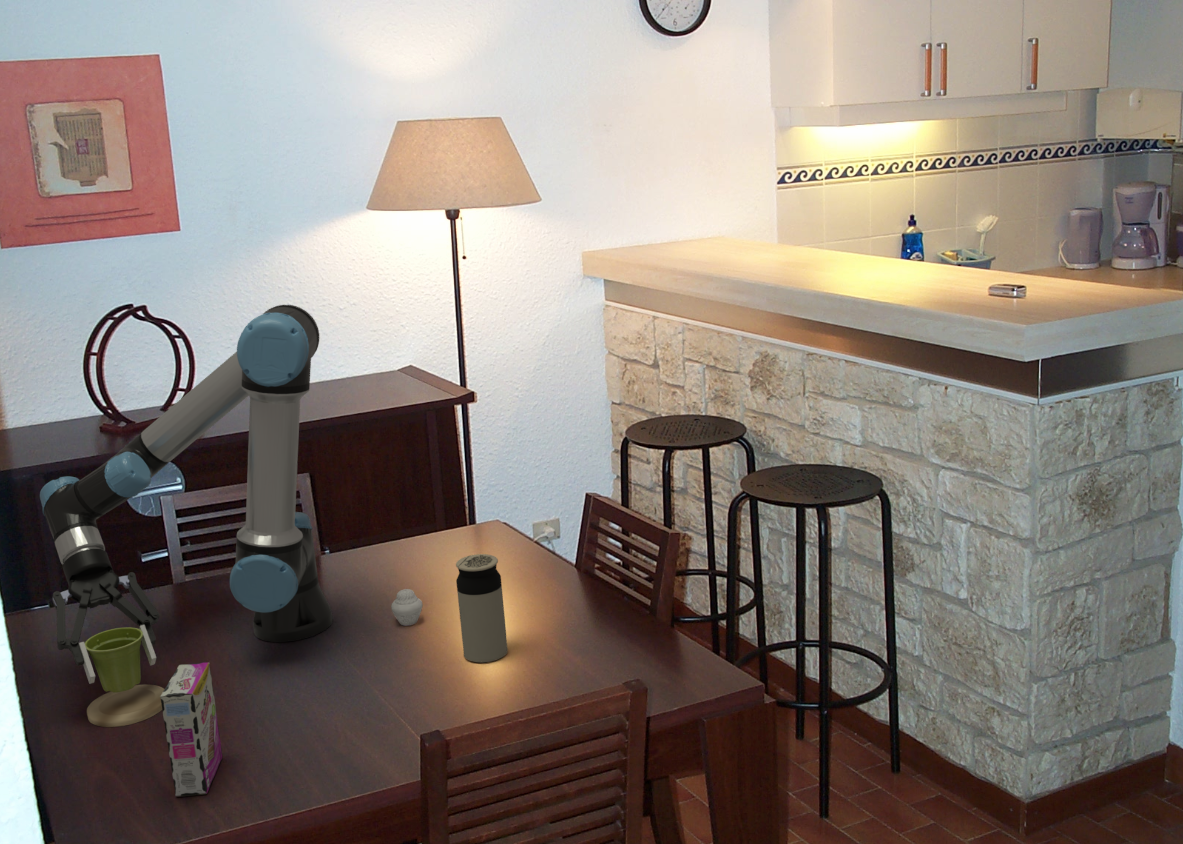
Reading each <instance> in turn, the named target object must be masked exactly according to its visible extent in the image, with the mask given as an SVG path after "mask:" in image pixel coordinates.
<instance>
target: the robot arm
mask: <svg viewBox="0 0 1183 844" xmlns="http://www.w3.org/2000/svg"><path fill="white" fill-rule="evenodd" d="M319 344H320V330H319V326H318V325H317V322H316V321H315V319H314V318H313V316H312V315H311V314H310V313H309V312H308V311H307V310H305V309H303V308H302V307H300V306H297V305H293V304H279V305H276V306H273V307H270V308H269V309H267V310H266V311H264V312H263V313H262V314H260V315H257V316H256V317H255V318H253V319H252V320H250V321H249V322H248V323H247V324H246V325H245V327H244V328H243V330H242V332H241V334H240V336H239V338H238V341H237V344H236V351H235V352H234V353H233V354H232V355H231V356H230V357H228V358H227V359H226V360H225V361H224V362H222V363H221V364H220V365H219V366H217V368H215V369H214V370H213V371H212V372H211V373H209V374H208V375H207V376H206V377H205V378H204V379H203V380H201V381H200V382H199V383H198V384H197V385H196V386H194V387H192V389H191V390H189V392H187V393H186V394H185V395H183V396H182V397H181V398H180V399H179V400H177V402H176V403H174V404H173V405H172V406H171V407H169V408H168V409H167V410H166V411H165V412H164V413H163V414H161V415H160V416H159V417H158V418H157V419H156V420H154V421H153V422H152V423H150V425H148V426H147V427H146V428H145V429H144V430H142V432H141V433H139V434H138V435H136V436H135V438H133V439H132V440H131V441H129V442H128V443H127V444H126V445H124V446H123V447H122V448H121V449H120V450H119V451H118V452H116V454H115V455H113V456H112V457H111V458H109V459H107V461H105V462H104V463H103V464H102V465H100V466H99V467H98V468H96V469H95V470H93V471H91V472H90V473H89V474H87V475H85V476H84V477H83V478H81V479H79V478H78V477H74V476H67V475H66V476H59V478H57V479H52V480H50V481H49V482H47V483H45V484H44V486H42V488H41V490H40V491H39V499H40V503H41V506H42V514H43V517H45V520H46V523H47V525H48V527H49V531H50V533H51V536H52V538H53V543H54V546H55V549H56V551H57V555H58V558H59V561H60V563H61V565H62V570H63V573H64V575H65V579H66V582H67V585H68V589H66V590H64V591H61V592H60V591H58V590H56V591H54V592H53V593H52V603H53V606H54V609H55V611H56V642H57V643H56V645H57V646H56V647H57V649H58V650H59V651H63V650H69V651H70V652H71V654H72V657H73V660H74V662H75V665H76V666H77V667H80V666H83V669H84V672H85V674H86V678H87V680H88V681H87V682H88V683H89V684H90V685H91V684H94V683H95V679H96V674H95V672H94V668H93V665H92V662H91V659H90V657H89V656H90V655H89V652H88V651H87V650H86V647H85V644H84V643H85V641H81V642H80V638H81V634H82V630H83V628H84V627H83V626H84V623H85V618H86V615H87V611H88V608H90V609H94V608H97V607H99V606H106V605H109V604H110V605H111V606H113V608H117V609H118V610H119V611H121V613H123V614H124V615H125V616H126V617H127V618H129V620H131V621H132V622H133V623H135V624H136V625H137V626H138V627H139V628H138V629H140V630H141V631H142V632H143V637H142V639H141V645H142V646H143V649H144V652H145V654H146V658H147V660H148V663H149V666H153V665H155V664H156V661H157V656H156V653H155V650H154V647H153V645H155V644H156V635H155V632H154V630H153V626H152V625H156V624H157V623H158V621H159V618H160V612H159V611H158V610H157V608H156V607H155V605H154V604H153V603H152V601H151V600H150V599H149V597H148V596H147V594H146V593H145V592H144V590H143V588H141V586H140V584H139V583H138V580H137V577H136V576H137V575H136V573H135V572H133V571H131V572H130V571H129V572H128V574H127V575H122V576H119V575H118V574H116V573H115V571H114V569H113V566H112V564H111V563H112V562H111V561H110V557H109V555H108V552H107V551H106V546H105V544H104V541H103V539H102V536H101V533H100V529H99V528H98V524H97V520H98V519H99V518H101V517H103V516H104V515H106V513H109V512H110V511H112V510H113V509H115V508H117V507H118V506H120V505H121V504H123V503H125V502H127V501H128V500H130V499H131V498H133V497H136V496H138V495H139V494H140V493H141V492H142V491H144V490H145V489H146V488H148V487H149V486H150V485H151V482H152V478H153V477H154V476H156V474H158V472H160V471H161V470H162V469H163V468H165V467H166V466H167V465H168V464H169V463H170V462H171V461H172V460H173V459H176V457H178V456H179V455H180V454H181V453H182V452H183V451H185V450H186V449H187V448H188V447H189V446H190V445H191V444H193V443H194V442H195V441H196V440H197V439H199V438H200V437H202V435H204V434H205V433H206V432H207V431H208V430H209V429H211V428H212V427H213V426H214V425H215V424H217V423H218V422H219V421H220V420H221V419H223V418H224V417H225V416H226V415H227V414H229V413H230V412H231V411H233V409H235V408H236V407H237V406H238V405H240V404H241V403H242V402H243V401H245V399H247V398H248V397H249V420H248V423H249V426H248V447H247V448H248V451H247V475H246V477H247V478H246V479H247V480H246V503H245V505H246V511H245V524H244V525H243V526H242V527H241V528H240V529H239V530H237V533H236V543H235V544H236V546H235V564H234V565H233V567H232V569H231V570H230V575H229V589H230V591H231V594H232V595H233V597H234V599H235V600H236V601H237V602H238V603H239V604H240V605H241V606H242V607H244V608H246V609H247V610H250V611H252V612H254V614H253V620H252V627H253V633H254V634H253V635H254V636H255V637H256V638H258V639H260V640H262V641H264V642H265V641H266V642H273V643H283V642H284V643H286V642H294V641H295V642H296V641H299V640H304V639H307V638H310V637H314V636H316V635H318V634H321V633H322V632H324V631H325V630H328V628H329V627H330V626H331V625H332V624H333V620H334V619H333V614H332V613H333V612H332V608H331V606H330V604H329V601H327V600H328V599H327V598H326V596H325V594H324V592H323V590H322V588H321V586H320V583H319V577H318V568H317V560H316V553H315V546H314V538H313V526H312V523H311V519H310V517H309V515H308V514H306V513H304V512H300V511H296V505H297V504H296V502H297V501H296V500H297V481H298V476H297V475H298V459H299V457H298V455H299V437H300V436H299V435H300V433H299V431H300V417H301V416H300V412H301V409H300V408H301V399H302V397H304V396H305V395H306V394H307V393H309V391H310V388H311V387H310V385H311V383H310V382H311V368H312V367H311V366H312V358H313V357H314V356H315V354H316V352H317V350H318V348H319ZM119 585H122V586H123V588H125V589H126V590H127V589H128V591H129V593H130V595H131V597H132V598H133V599H134V601H135V602H136V603H137V605H138V606H139V607H140V609H141V610H140V609H139V608H137V607H136V606H135V605H134V604H133V603H131V602H130V601H129V600H128V599H127V598H125V597H124V596H123V594H122V593H121V592H120V591H119V590H118V588H119ZM69 598H70V599H72V600H74V601H75V602H77V603H79V605H78V606H79V607H78V609H77V614H76V618H75V622H74V626H73V629H72V630H73V631H72V632H71V633H72V634H71V638H67V637H66V636H67V634H66V633H67V631H66V627H67V626H66V605H67V604H68V601H69V600H68V599H69Z"/></svg>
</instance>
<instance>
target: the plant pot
mask: <svg viewBox="0 0 1183 844" xmlns="http://www.w3.org/2000/svg"><path fill="white" fill-rule="evenodd" d="M142 637H143V632H142V631H141V630H140V629H139V628H137V627H128V626H126V627H116V628H112V629H108V630H104V631H100V632H98V633H96V634H94V635H92V636H90V637H89V638H88V639H86V641H84V644H85V647H86V650H87V653H88V655H89V656H90V657H91V659H92V661H93V665H94V666H95V670H96V672H97V675H98V677H99V682H100V684H101V686H102V689H103V690H104V692H106V693H108V692H111V691H112V692H122V691H126V690H129V689H131V688H133V687H134V686H135V685H140V684H141V681H142V680H141V678H142V677H141V675H142V674H141V645H142V641H141V639H142Z"/></svg>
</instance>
